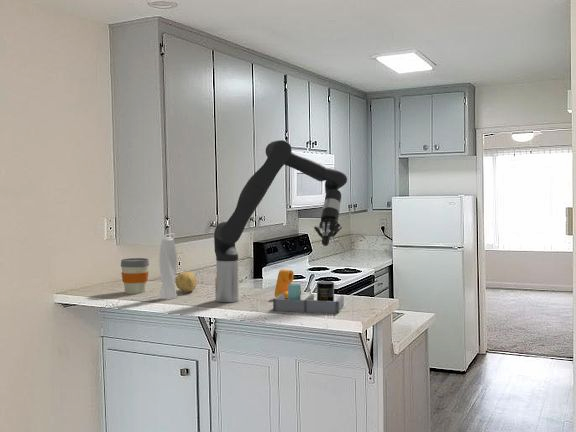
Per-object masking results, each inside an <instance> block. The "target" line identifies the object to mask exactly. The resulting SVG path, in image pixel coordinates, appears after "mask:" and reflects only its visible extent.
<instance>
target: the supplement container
mask: <svg viewBox="0 0 576 432" xmlns="http://www.w3.org/2000/svg"><path fill="white" fill-rule="evenodd" d="M316 300H317V301H335V282H334V281H329V280H328V281H327V280H323V281H321V280H320V281H317V282H316Z"/></svg>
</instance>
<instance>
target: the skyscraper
mask: <svg viewBox="0 0 576 432" xmlns="http://www.w3.org/2000/svg"><path fill="white" fill-rule="evenodd" d="M169 235H173V237H170V236H169ZM175 238H176V233H173V232H172V233H171V232H170V233H166V234H164V235H163V236H162V237H161V240H160V247H159V253H158V258H159V259H158V264H159V265H158V267H159V275H160V278H161V283H162V284H161V289H160V294H159V299H160V300H168V301H169V300H174V299H177V298H178V294H177V290H176V285H175V283H174V282H175V280H176V273H177V269H178V268H177V266H178V256H177V255H178V254H177V249H176V243H175Z"/></svg>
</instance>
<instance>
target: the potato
mask: <svg viewBox="0 0 576 432" xmlns="http://www.w3.org/2000/svg"><path fill="white" fill-rule="evenodd" d="M197 282H198V281H197V278H196V276H195V274H194V273H193V272H192V271H185V270H184V271H182V272H180V273H179V274H177V276H175V287H176V288H177V289H178V290H179V291H181V292H184V293H190V292H193V291H194V290H195V289H196V287H197V285H198V283H197Z"/></svg>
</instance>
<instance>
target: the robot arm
mask: <svg viewBox="0 0 576 432" xmlns="http://www.w3.org/2000/svg"><path fill="white" fill-rule="evenodd" d="M291 145H292V144H290V142H288V141H287V140H284V139H283V140H282V139H281V140H280V139H279V140H273V141H271V142H270V143H268V145H267V146H266V147H265V155H266V157H267V158H266V160H265V162H264V163H263V165H261V167H260V168H258V170H257V171H255V173H254V174H253V175H252V176H251V177H250V178H249V179H248V180H247V182H246V183H245V185H244V187H243V188H242V190H241V192H240V194H239V197H238V200H237V204H236V207H235V209H234V212H232V214H231V216H230V217H229V219H228V220H227V221H223V222H219V223H218V224H217V225H216V227H215V229H214V233H213V242H214V253H215V262H216V268H215V269H216V270H215V271H216V274H215V275H216V277H215V279H214V281H215V285H214V287H215V290H214V291H215V297H214V298H215V301H217V303H234V302H235V303H236V302H238V301H239V253H238V251H237V248H236V243H237V242H238V241H239V240H240V238H241V236H242V234H243V232H244V230H245V228H246V226H247V223H248V222H249V220H250V219H251V217H252V215H254V212H255V211H256V209H257V208H258V206H259V205H260V203H261V202H262V201H263V198H264V197H265V195H266V194H267V192H268V190H269V189H270V186H271V185H272V183H273V182H274V179H276V176H277V175H278V174H279V172H280V170H281V169H282V167H283V166H287V167H289V168H292V169H294V170H296V171H298V172H300V173H302V174H305V175H306V176H308V177H310V178H312V179H313V180H316V181H318V182H325V183H324V188H325V189H324V191H325V198H324V203H323V205H322V211H321V216H320V222H319V225H318V226H314V227H313V228H314V230H315V232H316V233H317V234H318V236H319V237H320V238H321V245H322V246H323V247H327V246H328V245H329V244H330V240H331V238H334V237H335V236H336V235H337V234H338V232H340V231H341V230H342V229H343V227H342V225H341V224H340V223H339V222H338V221H339V215H340V210H341V202H342V193H341V191H340V190H339V189H340V188H342V187H344V186H345V185H346V184H347V182H348V177H347V175H346V174H345V173H344V172H343V171H342V170H339V169H336V168H333V167H326V166H324V165H323V164H321V163H320V162H317V161H315V160H312V159H309V158H306V157H304V156H300V155H298V154H296V153H294V152H292V146H291ZM321 231H322V232H321Z"/></svg>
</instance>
